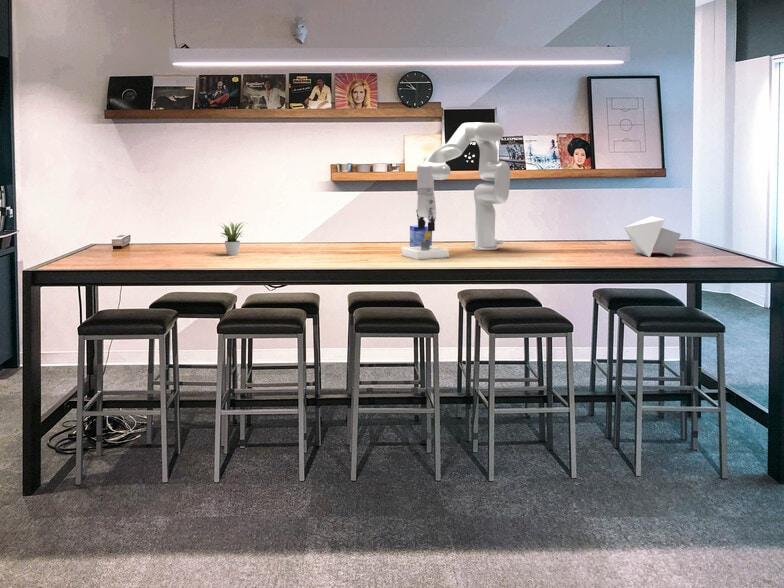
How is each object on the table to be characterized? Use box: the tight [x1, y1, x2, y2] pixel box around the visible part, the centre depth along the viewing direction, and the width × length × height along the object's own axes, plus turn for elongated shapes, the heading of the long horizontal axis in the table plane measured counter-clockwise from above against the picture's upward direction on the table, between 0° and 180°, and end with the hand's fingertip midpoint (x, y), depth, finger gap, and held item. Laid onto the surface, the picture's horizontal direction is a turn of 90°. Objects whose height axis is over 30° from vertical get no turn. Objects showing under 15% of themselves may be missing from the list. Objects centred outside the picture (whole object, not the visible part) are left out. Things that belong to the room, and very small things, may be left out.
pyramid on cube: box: [623, 215, 682, 258], centre depth 369 cm, size 17×24×18 cm
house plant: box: [219, 220, 248, 256], centre depth 371 cm, size 14×14×16 cm
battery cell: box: [421, 238, 430, 251], centre depth 364 cm, size 4×4×8 cm
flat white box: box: [401, 245, 450, 261], centre depth 365 cm, size 16×16×4 cm
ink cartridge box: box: [409, 220, 433, 247], centre depth 383 cm, size 10×6×14 cm, turn 115°
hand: (426, 229), depth 364 cm, fingers open, 9 cm apart
